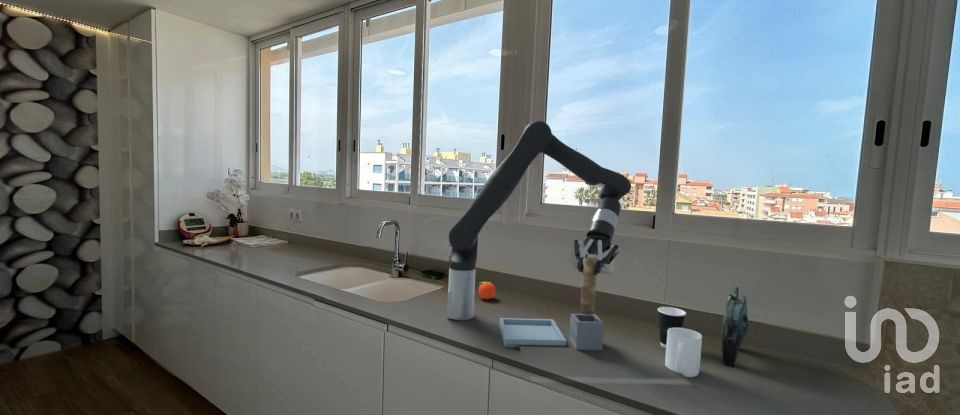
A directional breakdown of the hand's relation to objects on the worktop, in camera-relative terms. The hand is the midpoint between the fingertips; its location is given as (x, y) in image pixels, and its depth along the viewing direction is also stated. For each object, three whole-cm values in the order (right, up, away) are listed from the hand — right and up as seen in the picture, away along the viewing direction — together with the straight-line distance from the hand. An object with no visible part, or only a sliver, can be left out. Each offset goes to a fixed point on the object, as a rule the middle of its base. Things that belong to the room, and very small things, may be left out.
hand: (587, 271), depth 120 cm
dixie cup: (+27, -24, +7) cm, 37 cm away
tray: (-15, -22, +11) cm, 29 cm away
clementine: (-29, -19, +49) cm, 60 cm away
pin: (0, -12, +3) cm, 13 cm away
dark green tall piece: (+43, -25, +2) cm, 50 cm away
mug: (+22, -25, -11) cm, 35 cm away
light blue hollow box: (0, -23, +3) cm, 23 cm away
